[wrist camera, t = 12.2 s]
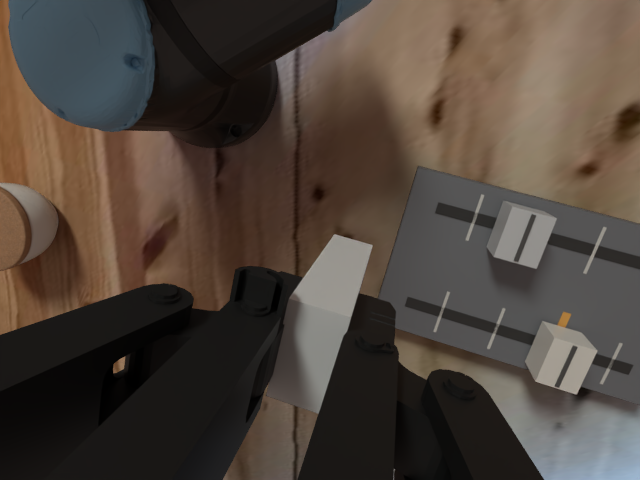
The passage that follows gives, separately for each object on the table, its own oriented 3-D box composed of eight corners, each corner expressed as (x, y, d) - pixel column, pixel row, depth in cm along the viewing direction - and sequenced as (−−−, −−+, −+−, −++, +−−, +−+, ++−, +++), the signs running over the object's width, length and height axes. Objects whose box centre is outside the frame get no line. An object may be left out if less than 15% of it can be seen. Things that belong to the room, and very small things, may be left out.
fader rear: (524, 361, 47) (535, 382, 43) (542, 320, 45) (554, 338, 41) (562, 373, 46) (577, 395, 42) (581, 332, 45) (598, 351, 41)
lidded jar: (28, 161, 57) (-42, 165, 48) (87, 216, 57) (28, 231, 49) (-7, 217, 61) (-79, 231, 52) (49, 270, 61) (-13, 293, 52)
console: (372, 314, 52) (370, 324, 50) (418, 165, 47) (418, 167, 44) (630, 394, 48) (644, 411, 46) (709, 241, 43) (731, 249, 41)
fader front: (486, 246, 45) (493, 257, 41) (503, 200, 43) (512, 206, 39) (525, 257, 44) (536, 269, 40) (543, 211, 43) (557, 218, 39)
